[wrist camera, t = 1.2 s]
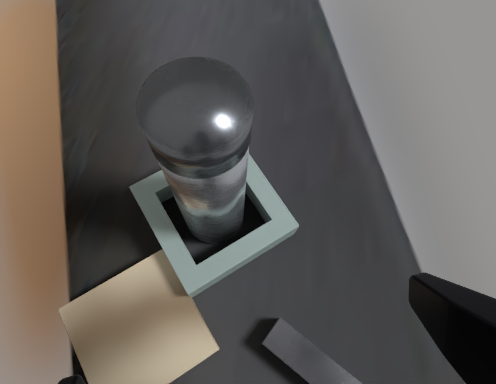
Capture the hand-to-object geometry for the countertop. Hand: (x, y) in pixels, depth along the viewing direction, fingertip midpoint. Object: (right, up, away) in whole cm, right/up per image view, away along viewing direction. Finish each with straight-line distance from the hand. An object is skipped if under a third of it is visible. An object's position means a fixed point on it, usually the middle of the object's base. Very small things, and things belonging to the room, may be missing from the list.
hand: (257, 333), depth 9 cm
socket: (-3, +2, +15) cm, 15 cm away
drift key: (+4, -7, +12) cm, 14 cm away
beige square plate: (-7, -5, +12) cm, 15 cm away
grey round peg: (-3, +2, +15) cm, 15 cm away
